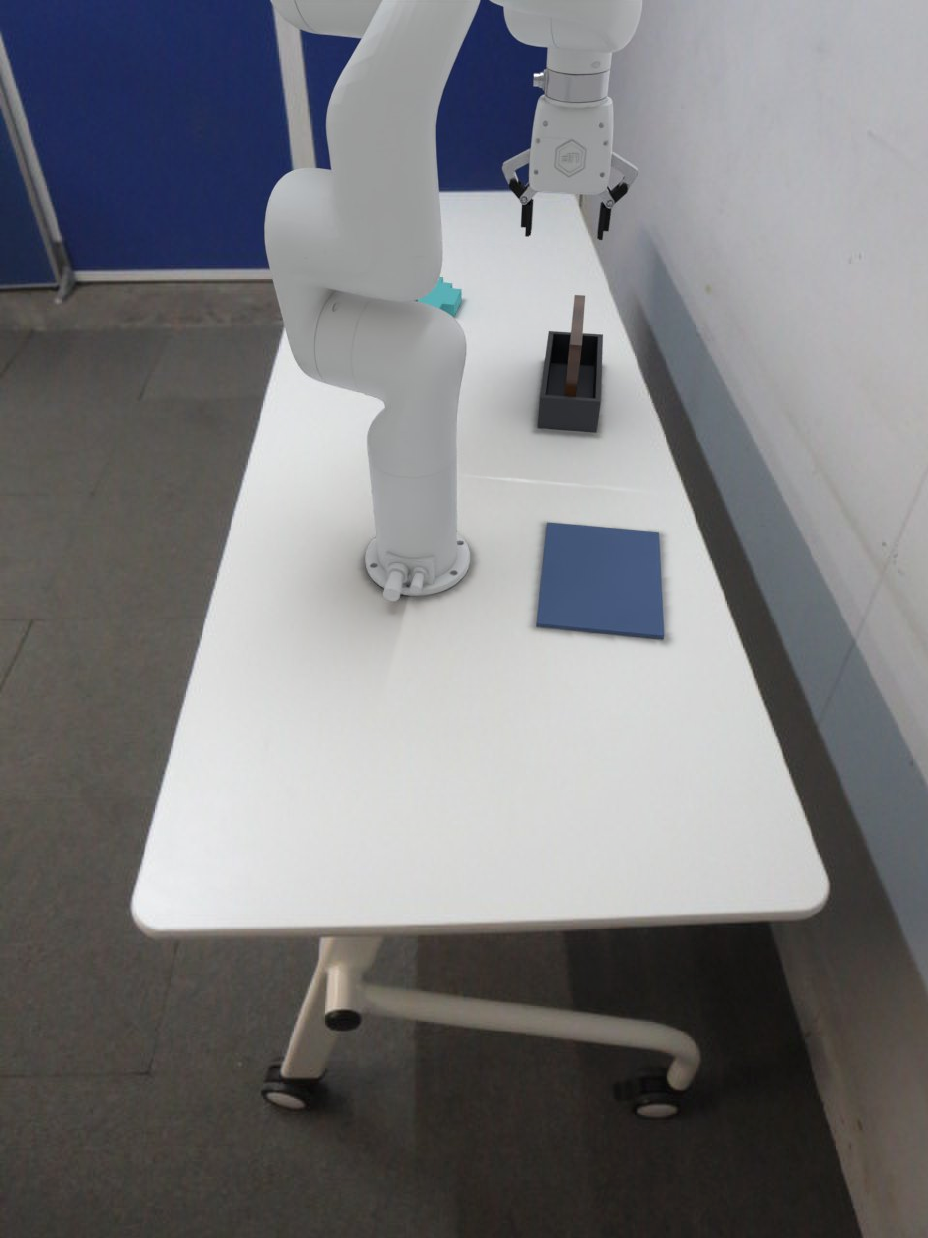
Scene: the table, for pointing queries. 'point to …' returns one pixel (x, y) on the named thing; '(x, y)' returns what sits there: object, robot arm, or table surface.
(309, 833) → the table surface
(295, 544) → the table surface
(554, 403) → the bin
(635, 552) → the mat
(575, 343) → the board
